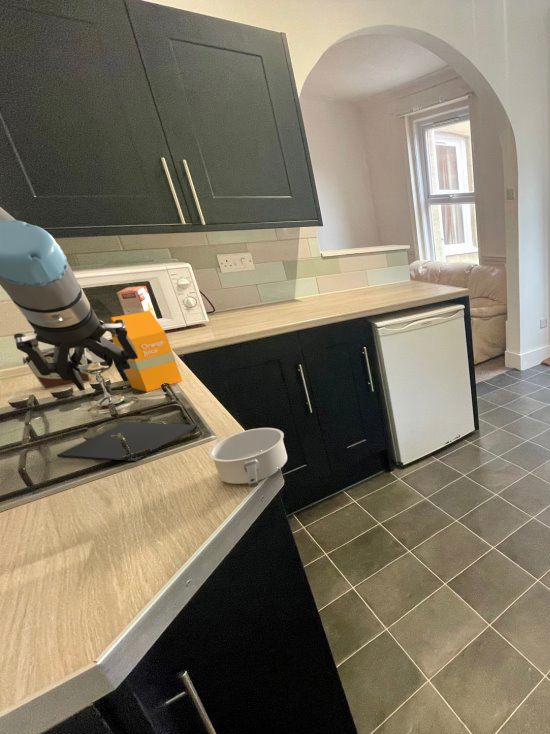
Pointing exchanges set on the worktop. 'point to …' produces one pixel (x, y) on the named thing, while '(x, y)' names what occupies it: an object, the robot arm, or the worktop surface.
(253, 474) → the saucepan
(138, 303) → the cracker box
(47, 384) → the food container
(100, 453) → the mat
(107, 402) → the wineglass
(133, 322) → the orange juice
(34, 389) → the worktop surface
